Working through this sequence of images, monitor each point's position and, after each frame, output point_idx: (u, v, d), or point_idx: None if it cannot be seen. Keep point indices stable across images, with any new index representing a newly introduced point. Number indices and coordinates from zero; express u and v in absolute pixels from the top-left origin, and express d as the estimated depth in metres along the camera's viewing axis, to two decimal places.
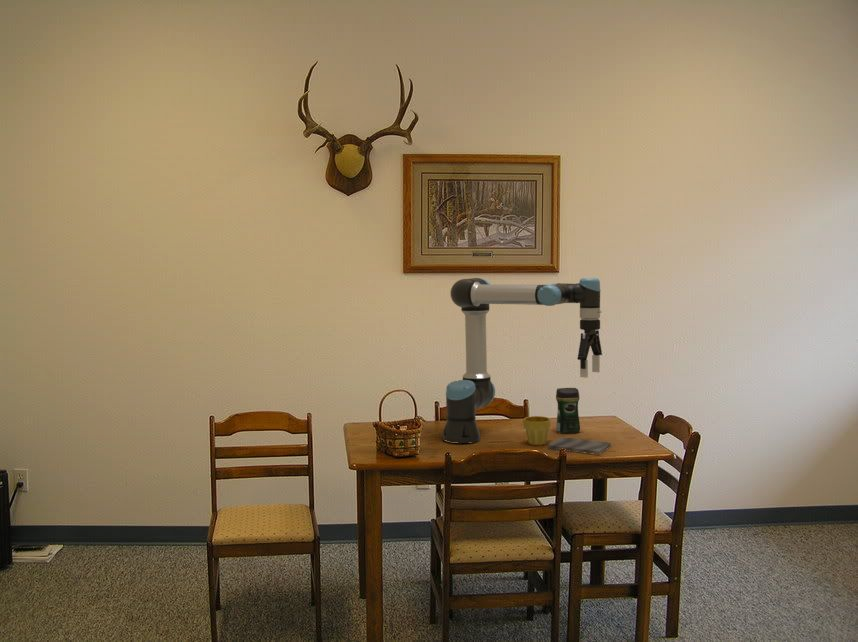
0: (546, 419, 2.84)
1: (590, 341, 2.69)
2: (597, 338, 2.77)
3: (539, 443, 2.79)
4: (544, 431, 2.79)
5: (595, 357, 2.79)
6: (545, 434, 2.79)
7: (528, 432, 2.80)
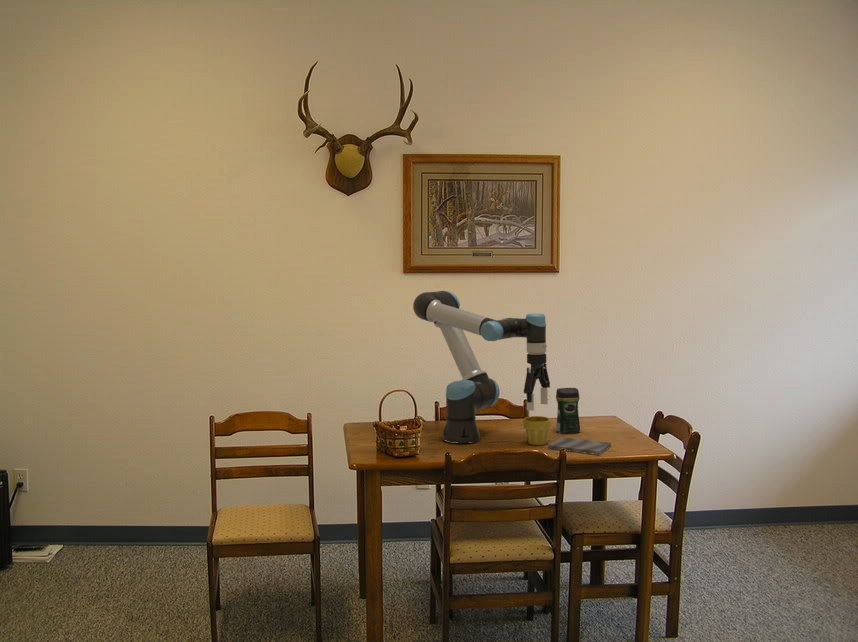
0: (546, 419, 2.84)
1: (536, 375, 2.77)
2: (545, 371, 2.85)
3: (539, 443, 2.79)
4: (544, 431, 2.79)
5: (543, 389, 2.86)
6: (545, 434, 2.79)
7: (528, 432, 2.80)
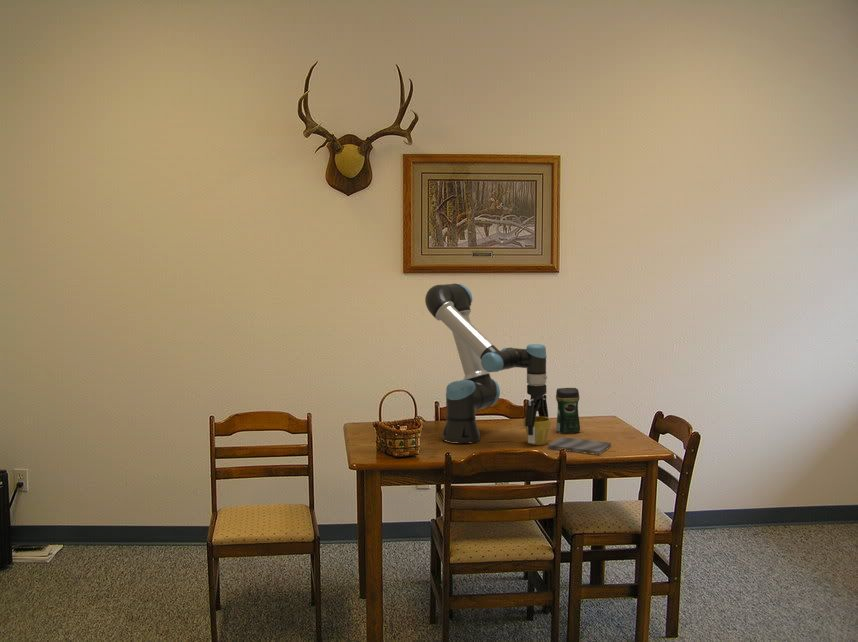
0: (546, 419, 2.84)
1: (536, 407, 2.78)
2: (544, 403, 2.86)
3: (539, 443, 2.79)
4: (544, 431, 2.79)
5: None
6: (545, 434, 2.79)
7: None
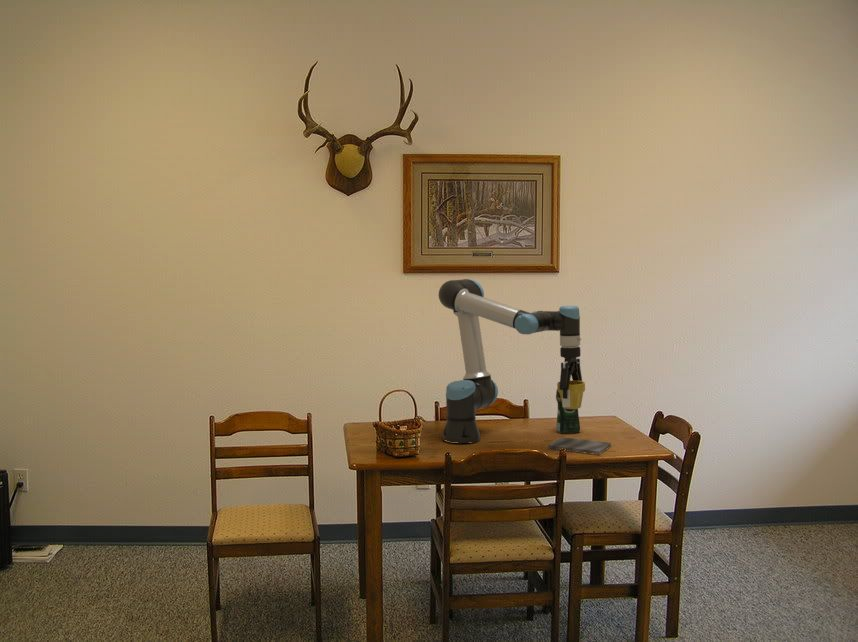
0: (580, 383, 2.76)
1: (571, 369, 2.70)
2: (578, 366, 2.78)
3: (574, 407, 2.71)
4: (579, 394, 2.71)
5: None
6: (580, 398, 2.71)
7: None
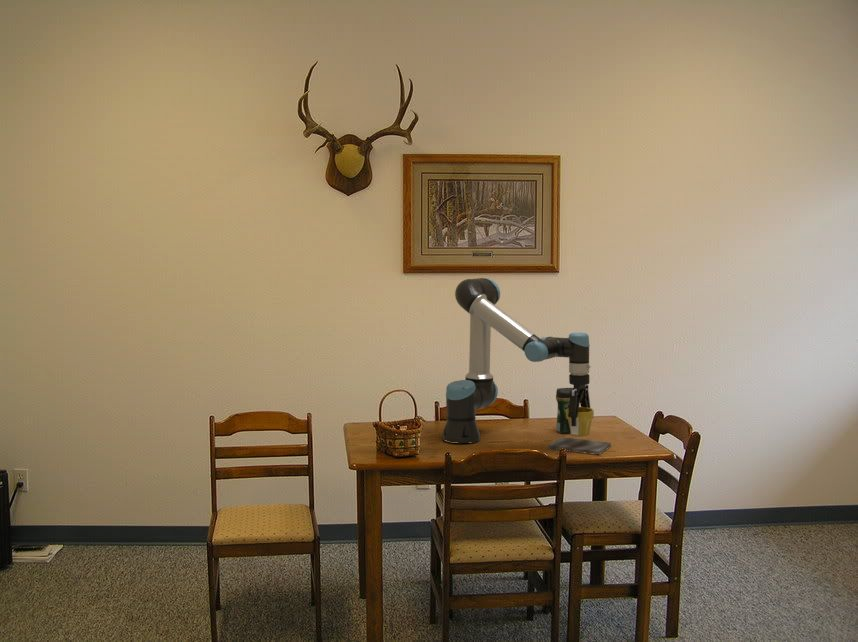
0: (589, 410, 2.75)
1: (580, 397, 2.70)
2: (586, 393, 2.77)
3: (582, 434, 2.71)
4: (588, 422, 2.70)
5: None
6: (588, 425, 2.71)
7: None
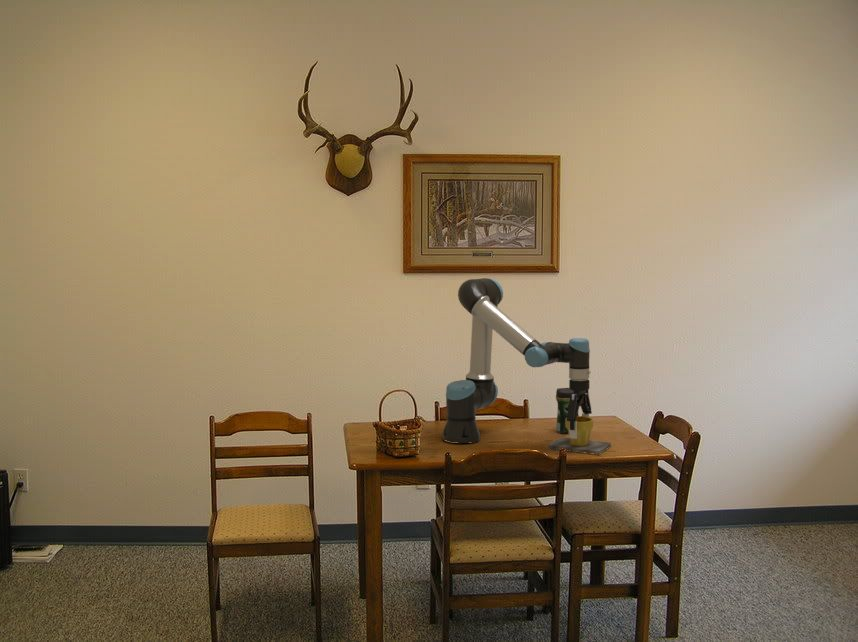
0: (588, 419, 2.76)
1: (579, 402, 2.69)
2: (587, 397, 2.78)
3: (582, 444, 2.71)
4: (587, 431, 2.70)
5: (585, 416, 2.79)
6: (588, 435, 2.71)
7: None
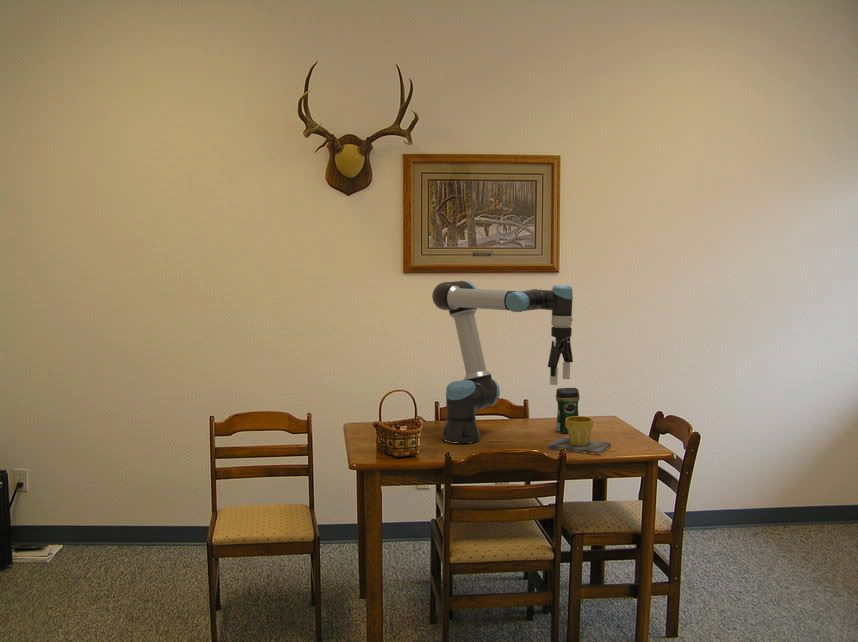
0: (588, 419, 2.76)
1: (561, 349, 2.69)
2: (568, 345, 2.78)
3: (582, 444, 2.71)
4: (587, 431, 2.70)
5: (566, 364, 2.79)
6: (588, 435, 2.71)
7: (570, 432, 2.72)
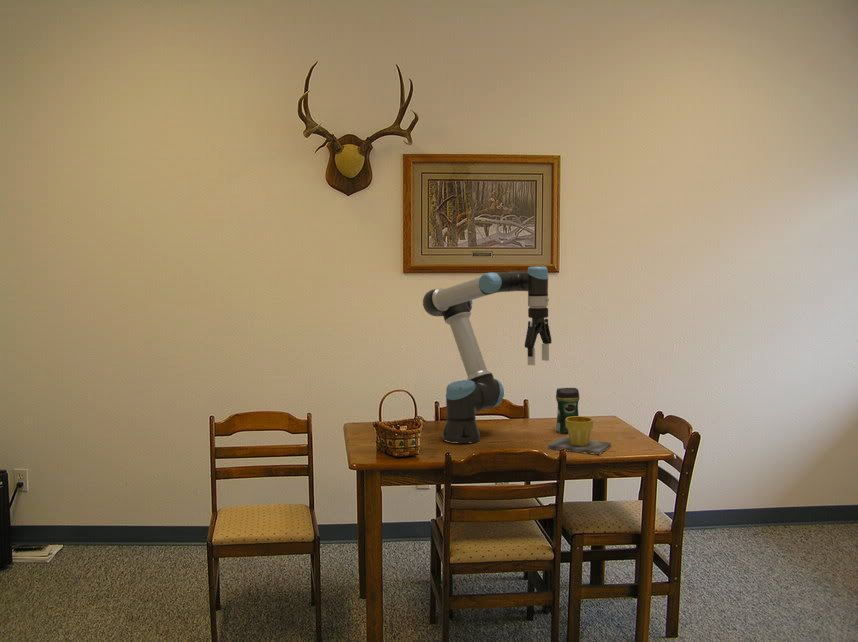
0: (588, 419, 2.76)
1: (538, 329, 2.69)
2: (546, 326, 2.78)
3: (582, 444, 2.71)
4: (587, 431, 2.70)
5: (544, 345, 2.79)
6: (588, 435, 2.71)
7: (570, 432, 2.72)
